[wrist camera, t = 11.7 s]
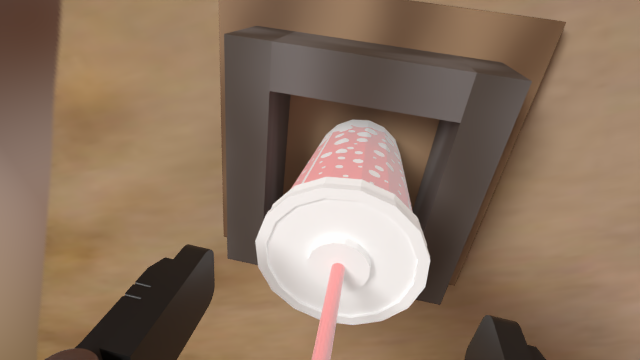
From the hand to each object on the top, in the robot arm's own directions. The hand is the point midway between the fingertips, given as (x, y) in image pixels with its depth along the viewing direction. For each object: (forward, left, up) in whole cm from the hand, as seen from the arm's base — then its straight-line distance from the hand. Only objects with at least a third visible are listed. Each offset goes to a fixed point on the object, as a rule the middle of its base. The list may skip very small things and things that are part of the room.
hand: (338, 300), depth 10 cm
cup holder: (0, 0, -12) cm, 12 cm away
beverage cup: (0, 0, -11) cm, 11 cm away
